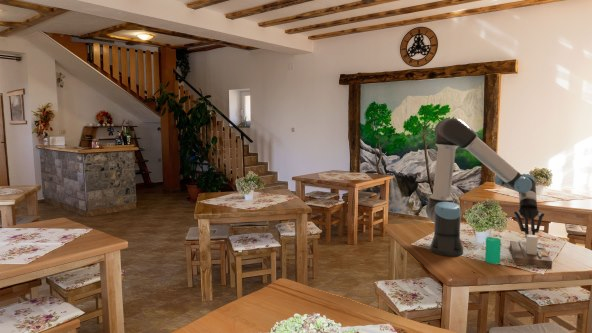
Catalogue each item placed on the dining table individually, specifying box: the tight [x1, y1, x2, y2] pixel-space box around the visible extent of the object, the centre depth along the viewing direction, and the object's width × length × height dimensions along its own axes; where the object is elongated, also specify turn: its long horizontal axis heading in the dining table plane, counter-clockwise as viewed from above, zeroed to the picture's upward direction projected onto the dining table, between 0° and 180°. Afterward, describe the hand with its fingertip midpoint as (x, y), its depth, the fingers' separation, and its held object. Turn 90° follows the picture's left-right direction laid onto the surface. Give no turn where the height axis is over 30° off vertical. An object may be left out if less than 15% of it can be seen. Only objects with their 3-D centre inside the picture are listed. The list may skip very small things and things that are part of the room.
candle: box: [484, 235, 502, 265], centre depth 185 cm, size 6×6×12 cm
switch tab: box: [525, 234, 539, 255], centre depth 186 cm, size 4×4×8 cm
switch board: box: [509, 240, 553, 269], centre depth 192 cm, size 14×28×4 cm, turn 157°
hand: (530, 244), depth 189 cm, fingers closed
